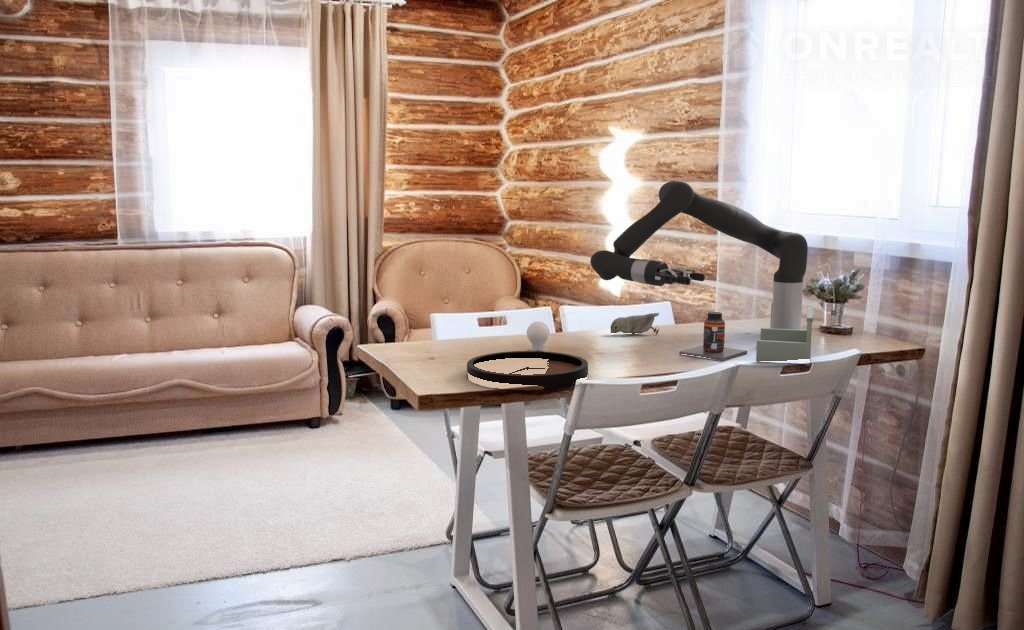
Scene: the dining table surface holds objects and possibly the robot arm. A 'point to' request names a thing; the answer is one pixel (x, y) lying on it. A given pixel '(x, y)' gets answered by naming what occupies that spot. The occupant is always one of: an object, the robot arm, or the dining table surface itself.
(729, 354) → the slate tile
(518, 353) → the wall clock
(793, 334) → the sage green open tray
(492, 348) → the dining table surface
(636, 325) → the decorative bird
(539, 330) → the lightbulb
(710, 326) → the supplement bottle
